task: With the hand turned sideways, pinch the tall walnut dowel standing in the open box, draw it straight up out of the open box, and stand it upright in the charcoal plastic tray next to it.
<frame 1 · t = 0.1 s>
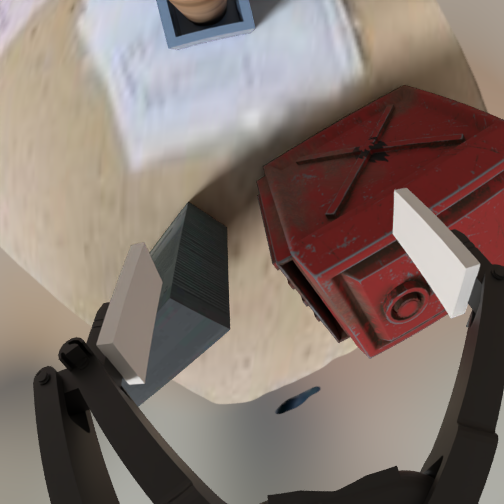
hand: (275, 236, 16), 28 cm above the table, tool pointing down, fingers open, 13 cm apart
jerry can: (363, 163, 44), on the table
open box: (206, 9, 30), on the table
dowel: (205, 7, 29), point 1 cm above the table, touching open box
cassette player: (157, 276, 52), on the table
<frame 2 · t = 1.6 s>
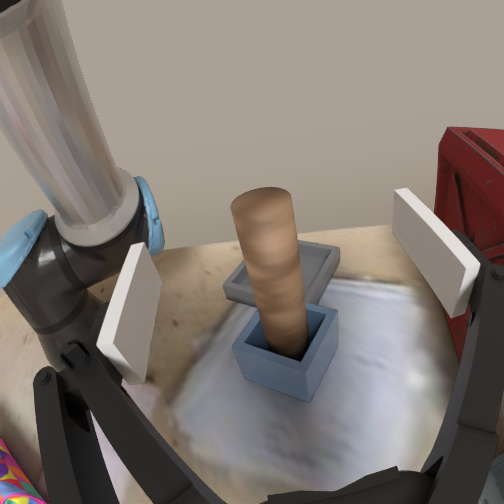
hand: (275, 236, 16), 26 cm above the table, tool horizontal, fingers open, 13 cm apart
jerry can: (486, 309, 38), on the table
pencil case: (13, 482, 27), on the table
open box: (292, 362, 39), on the table
tray: (285, 279, 52), on the table
dowel: (291, 358, 39), point 1 cm above the table, touching open box
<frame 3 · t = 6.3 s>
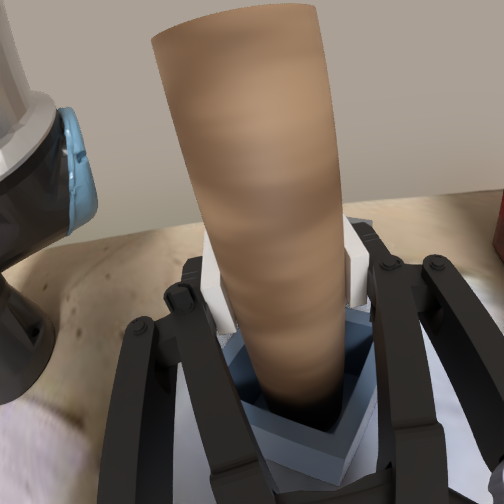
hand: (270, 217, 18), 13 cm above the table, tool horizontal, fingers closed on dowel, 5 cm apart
open box: (307, 411, 21), on the table
dowel: (306, 405, 20), point 1 cm above the table, touching open box, gripper
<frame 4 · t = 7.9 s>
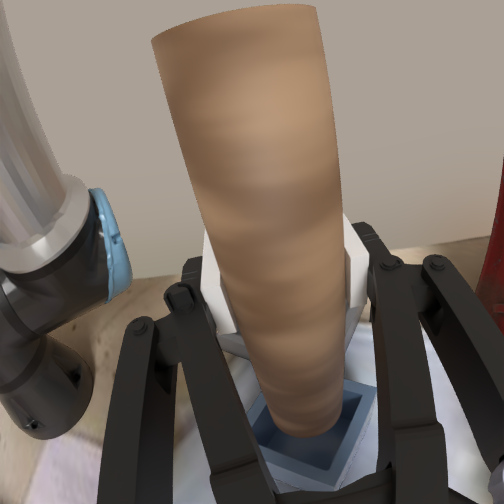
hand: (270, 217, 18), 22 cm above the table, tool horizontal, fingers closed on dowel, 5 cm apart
open box: (310, 445, 26), on the table
tray: (298, 324, 39), on the table
dowel: (306, 406, 20), point 10 cm above the table, touching gripper
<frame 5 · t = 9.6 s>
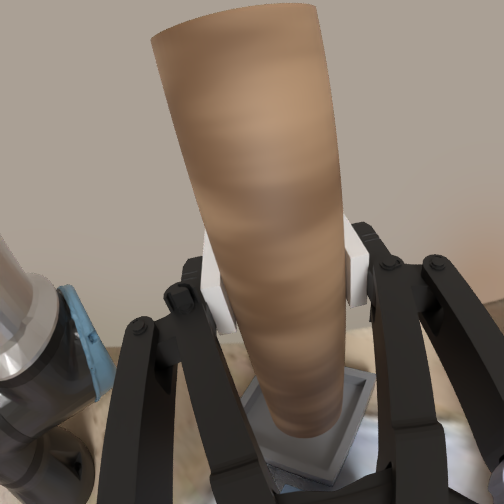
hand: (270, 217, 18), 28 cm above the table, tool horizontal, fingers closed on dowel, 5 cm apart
tray: (301, 418, 35), on the table
dowel: (306, 406, 20), point 16 cm above the table, touching gripper
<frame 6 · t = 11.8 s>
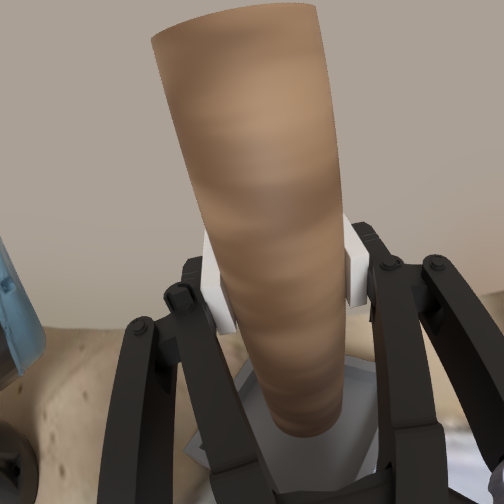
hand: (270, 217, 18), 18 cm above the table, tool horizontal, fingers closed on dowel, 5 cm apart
tray: (303, 430, 24), on the table
dowel: (306, 406, 20), point 6 cm above the table, touching gripper
when the fingers open (14 cm above the table, at t = 13.0 s): dowel stays where it is, resting on tray.
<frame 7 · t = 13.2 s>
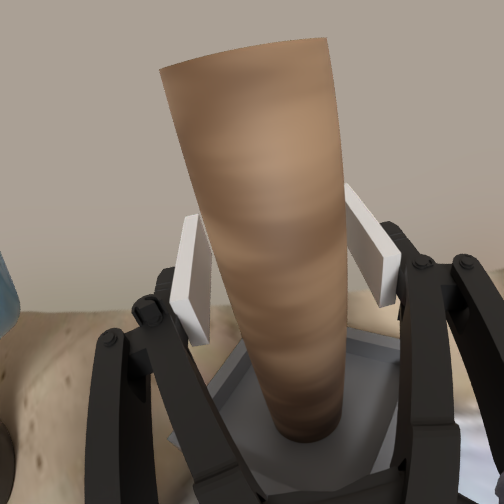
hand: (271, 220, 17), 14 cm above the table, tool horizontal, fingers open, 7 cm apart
tray: (307, 417, 21), on the table
dowel: (307, 412, 21), point 1 cm above the table, touching tray
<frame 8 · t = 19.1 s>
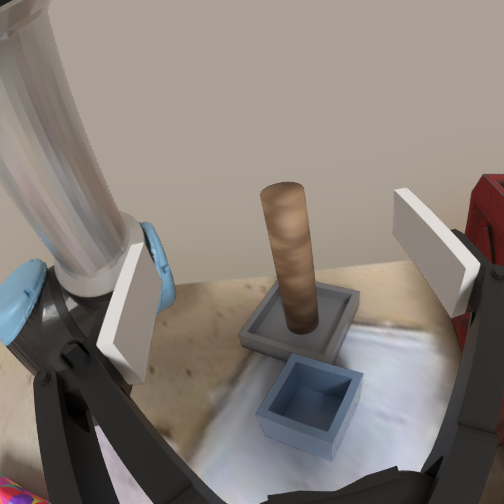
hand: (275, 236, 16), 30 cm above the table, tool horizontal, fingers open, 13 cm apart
open box: (313, 419, 36), on the table
tray: (303, 325, 49), on the table
dowel: (302, 322, 48), point 1 cm above the table, touching tray
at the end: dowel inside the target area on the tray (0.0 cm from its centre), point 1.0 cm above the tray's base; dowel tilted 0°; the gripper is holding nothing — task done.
